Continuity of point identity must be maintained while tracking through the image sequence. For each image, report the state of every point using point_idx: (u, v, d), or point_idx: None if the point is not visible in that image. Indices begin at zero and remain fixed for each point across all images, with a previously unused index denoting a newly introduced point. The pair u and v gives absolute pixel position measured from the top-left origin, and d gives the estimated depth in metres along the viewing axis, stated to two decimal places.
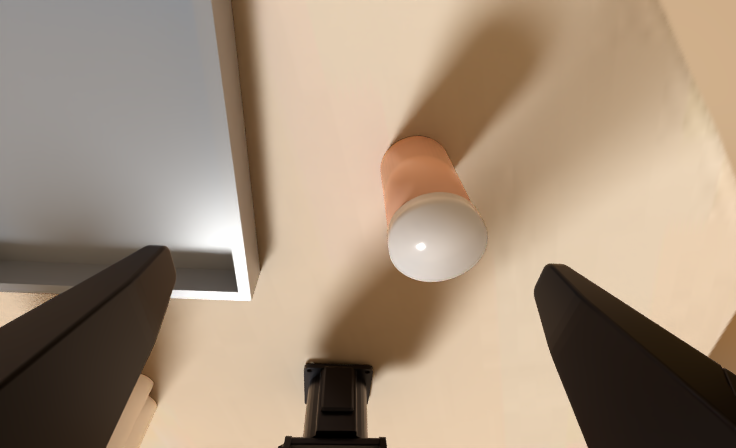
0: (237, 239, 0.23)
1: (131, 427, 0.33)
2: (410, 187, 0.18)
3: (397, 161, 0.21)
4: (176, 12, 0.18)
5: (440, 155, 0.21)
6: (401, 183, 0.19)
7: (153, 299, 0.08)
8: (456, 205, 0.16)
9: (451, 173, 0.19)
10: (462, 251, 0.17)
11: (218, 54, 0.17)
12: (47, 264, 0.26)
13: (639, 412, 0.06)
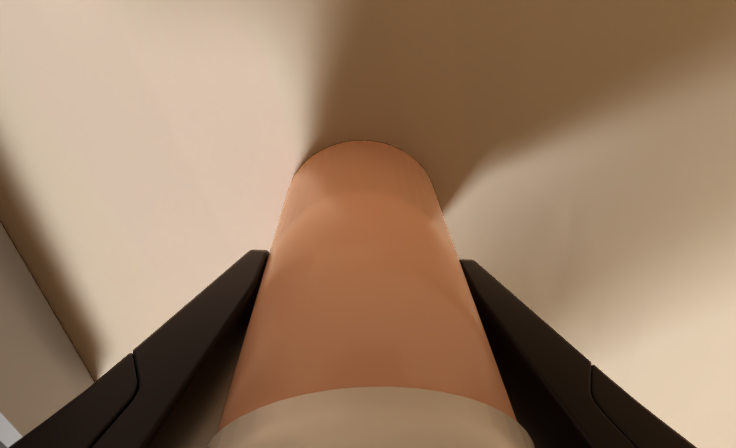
0: None
1: None
2: (286, 321, 0.05)
3: (296, 206, 0.08)
4: None
5: (408, 192, 0.08)
6: (273, 292, 0.06)
7: None
8: None
9: (433, 255, 0.06)
10: None
11: None
12: None
13: (513, 410, 0.06)
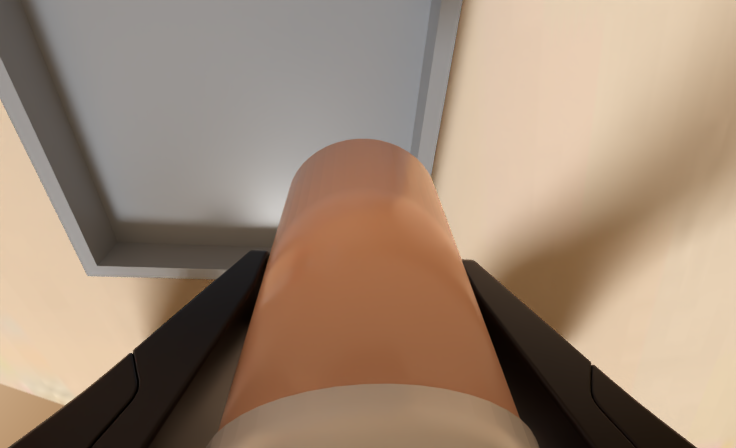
0: None
1: None
2: (288, 320, 0.05)
3: (298, 204, 0.08)
4: None
5: (409, 190, 0.08)
6: (275, 290, 0.06)
7: None
8: None
9: (435, 252, 0.06)
10: None
11: None
12: (178, 246, 0.23)
13: None
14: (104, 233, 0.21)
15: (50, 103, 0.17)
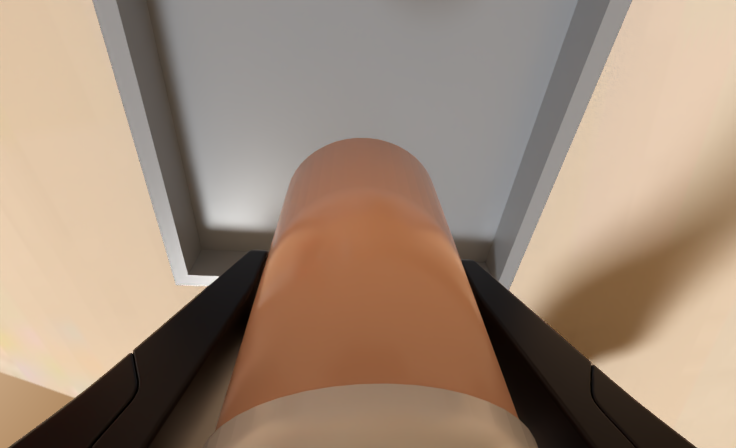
0: (530, 222, 0.19)
1: None
2: (285, 319, 0.05)
3: (296, 203, 0.08)
4: None
5: (408, 189, 0.08)
6: (272, 290, 0.06)
7: None
8: None
9: (434, 252, 0.06)
10: None
11: None
12: None
13: None
14: (193, 241, 0.21)
15: (162, 106, 0.16)
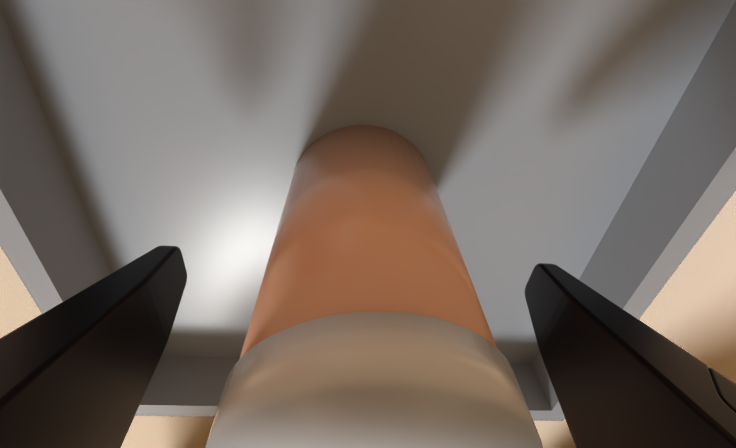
0: None
1: None
2: (297, 270, 0.06)
3: (303, 181, 0.09)
4: None
5: (405, 168, 0.09)
6: (285, 251, 0.07)
7: (165, 299, 0.08)
8: (429, 387, 0.04)
9: (427, 219, 0.07)
10: None
11: None
12: (232, 361, 0.16)
13: (624, 412, 0.06)
14: None
15: (56, 187, 0.10)
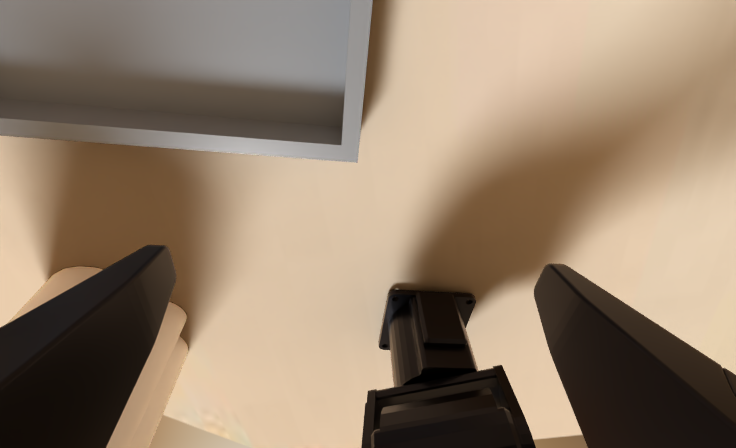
0: (360, 35, 0.14)
1: (163, 367, 0.24)
2: None
3: None
4: None
5: None
6: None
7: (153, 299, 0.08)
8: None
9: None
10: None
11: None
12: (49, 104, 0.17)
13: (639, 412, 0.06)
14: None
15: None
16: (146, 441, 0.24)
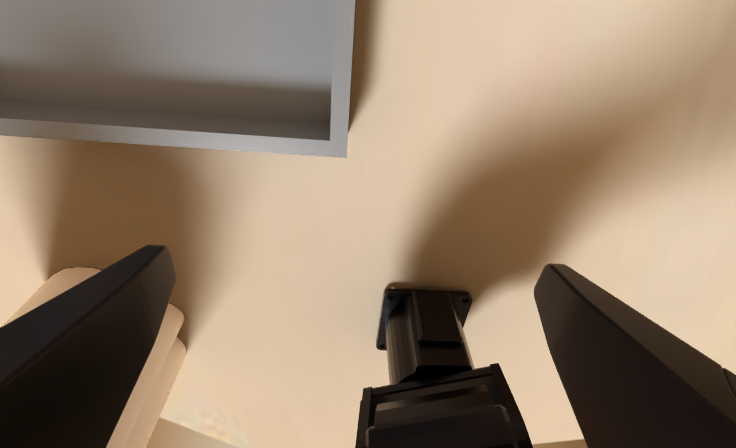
0: (344, 30, 0.14)
1: (159, 367, 0.24)
2: None
3: None
4: None
5: None
6: None
7: (153, 299, 0.08)
8: None
9: None
10: None
11: None
12: (45, 104, 0.18)
13: (638, 412, 0.06)
14: None
15: None
16: (142, 441, 0.24)
